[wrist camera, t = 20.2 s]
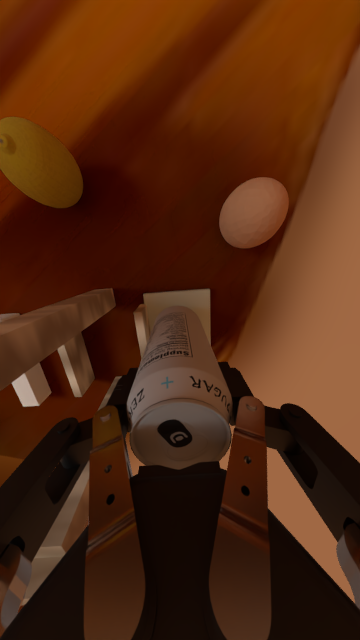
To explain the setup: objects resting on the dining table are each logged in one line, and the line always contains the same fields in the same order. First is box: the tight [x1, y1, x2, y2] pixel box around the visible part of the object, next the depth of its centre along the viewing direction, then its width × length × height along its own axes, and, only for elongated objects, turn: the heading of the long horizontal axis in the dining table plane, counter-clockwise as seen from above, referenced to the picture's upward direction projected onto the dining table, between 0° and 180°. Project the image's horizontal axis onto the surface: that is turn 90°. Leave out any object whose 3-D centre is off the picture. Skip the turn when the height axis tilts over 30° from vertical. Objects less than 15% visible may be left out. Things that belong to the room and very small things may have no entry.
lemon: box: [0, 117, 83, 208], centre depth 15 cm, size 6×6×8 cm
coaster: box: [143, 288, 211, 345], centre depth 24 cm, size 9×9×1 cm
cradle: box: [0, 288, 151, 605], centre depth 17 cm, size 17×12×19 cm
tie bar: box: [0, 313, 51, 407], centre depth 25 cm, size 14×2×3 cm, turn 3°
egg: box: [219, 177, 289, 248], centre depth 16 cm, size 6×6×8 cm
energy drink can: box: [127, 306, 233, 470], centre depth 15 cm, size 6×6×15 cm
